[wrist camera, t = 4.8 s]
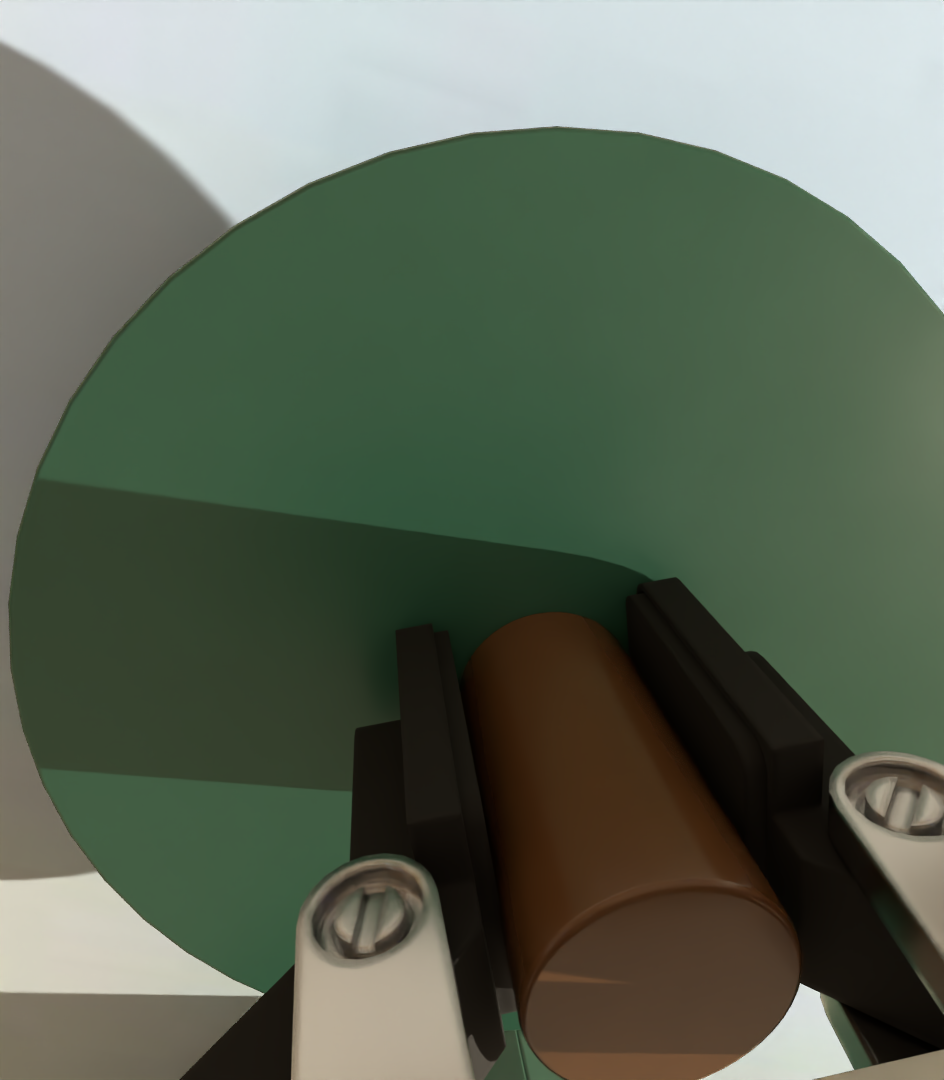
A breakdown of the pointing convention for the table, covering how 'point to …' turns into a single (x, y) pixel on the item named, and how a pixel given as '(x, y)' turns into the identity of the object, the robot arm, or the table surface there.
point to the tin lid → (490, 555)
